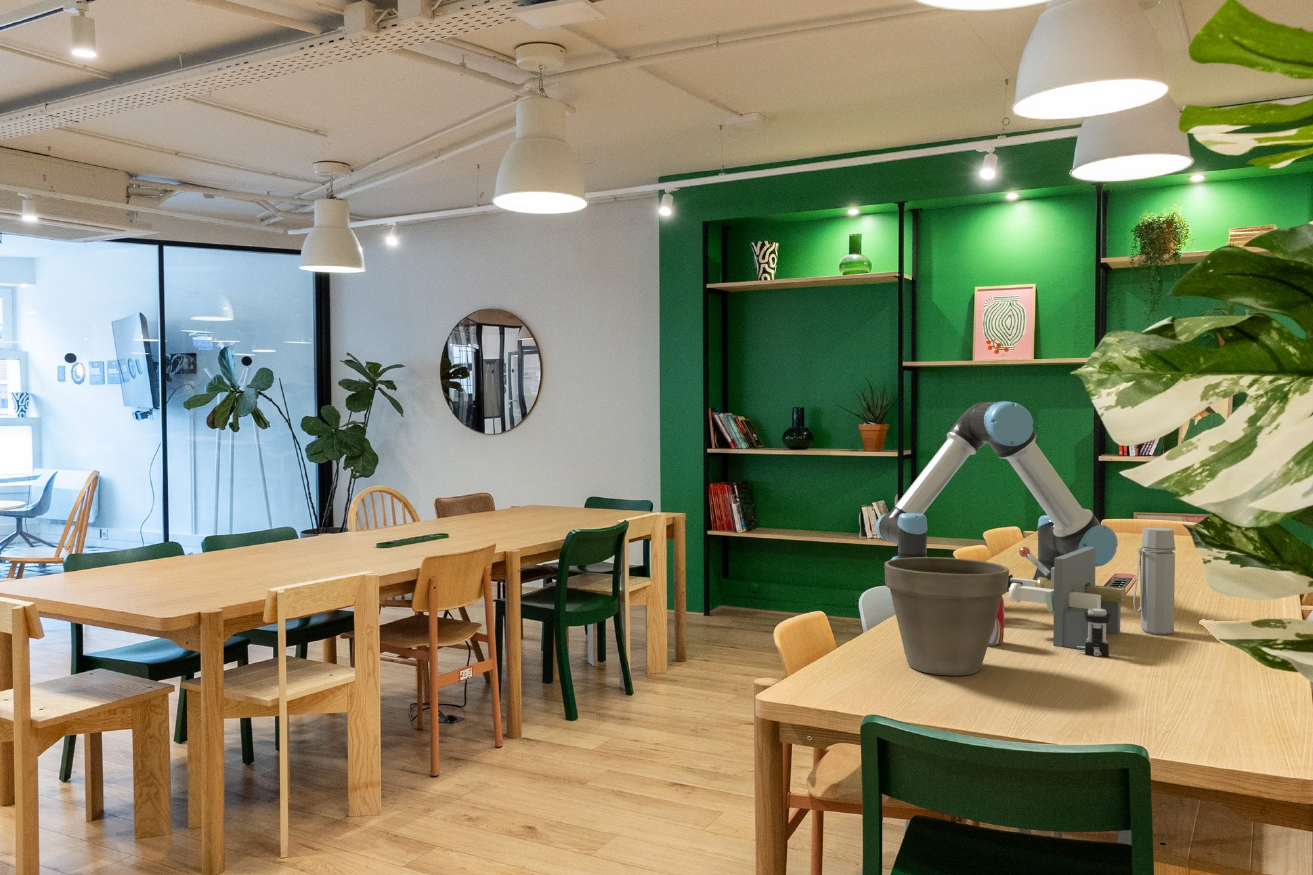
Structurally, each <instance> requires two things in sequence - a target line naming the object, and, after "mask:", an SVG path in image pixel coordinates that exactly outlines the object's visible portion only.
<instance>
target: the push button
mask: <svg viewBox="0 0 1313 875" xmlns="http://www.w3.org/2000/svg"><path fill="white" fill-rule="evenodd" d="M1084 615H1085V620H1086V621H1088V638H1087V641H1086V642H1085V647H1084V646H1077V647H1080V648H1085V650H1083V649H1077V650H1076V651H1077V652H1080V653H1084V654H1085V655H1086V656H1091V657H1092V656H1095V657H1104V658H1109V656H1110V654H1109V652H1110V650H1109V646H1110V645H1109V643H1108V640H1107V632H1106V623H1108V622H1109V618H1110V617H1111V615H1110V614H1107V613H1106V610H1105V609H1100V608H1089V609H1088V612H1085V613H1084ZM1091 624H1093V627H1092V642H1090V641H1091ZM1101 625H1103V632H1102V628H1101Z"/></svg>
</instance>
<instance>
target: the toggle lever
mask: <svg viewBox="0 0 1313 875" xmlns="http://www.w3.org/2000/svg"><path fill="white" fill-rule="evenodd" d="M1018 552H1019V555H1020V556H1021V557H1023V558H1026V559H1027V560H1028V561H1029V562H1031V564H1032V565H1033V566H1035V567H1036V569H1037V568H1038V569H1039V570H1040V571H1041V572H1042V573H1043V574H1044V575H1046V576H1047V575H1048V574H1049V573H1050V571H1049V570H1048V569H1047V568H1046V567H1045V566H1044V565H1043V564H1042V563H1041V562H1039V561H1038V558H1036V557H1035V555H1033V554H1032V553H1031V550H1030V548H1029V547H1027V546H1022V547H1020V548H1019V551H1018Z"/></svg>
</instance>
